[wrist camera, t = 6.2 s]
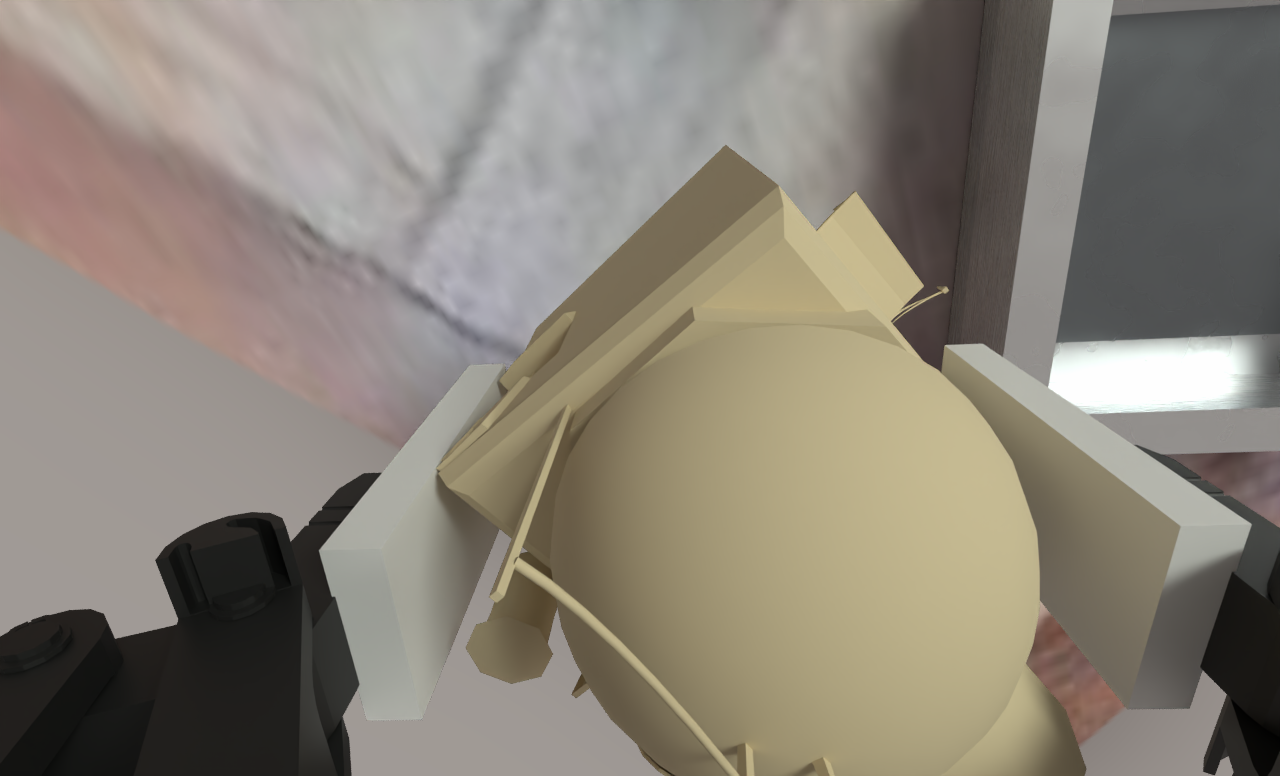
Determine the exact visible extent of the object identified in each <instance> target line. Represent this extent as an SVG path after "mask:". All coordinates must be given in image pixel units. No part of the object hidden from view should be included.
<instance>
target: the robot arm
mask: <svg viewBox="0 0 1280 776" xmlns="http://www.w3.org/2000/svg"><path fill="white" fill-rule="evenodd" d="M505 373H506V368H505V364H485V365H469V367H468V368H467V369H466V370H465V371H464V373H463V374H462V375H461V376H460V378H459V379H458V380H457V381H456V383H455V384H454V385H453V386H452V387H451V389H450V390H449V391H448V392H447V394H446V395H445V396H444V397H443V399H442V400H441V401H440V402H439V403H438V405H437V406H436V407H435V408H434V410H433V411H432V412H431V413H430V415H429V416H428V417H427V418H426V419H425V421H424V422H423V423H422V424H421V426H420V427H419V428H418V429H417V431H416V432H415V433H414V434H413V435H412V437H411V438H410V439H409V440H408V442H407V443H406V444H405V445H404V447H403V448H402V449H401V450H400V451H399V453H398V454H397V455H396V456H395V458H394V459H393V460H392V461H391V463H390V464H389V465H388V466H387V468H386V469H385V470H384V471H383V472H382V473H364V474H362V475H361V476H359V477H357V478H356V479H354V480H352V481H351V482H349V483H347V484H346V485H344V486H343V487H341V488H339V489H338V490H337V491H336V492H335V494H334V495H333V496H332V497H331V498H330V499H329V500H328V501H327V502H326V504H325V505H324V506H323V507H322V511H318V512H317V514H316V515H315V516H314V517H313V518H312V519H311V520H310V521H309V526H305V527H304V528H303V529H302V530H301V531H300V532H299V534H298V535H297V536H296V537H295V538H294V539H293V540H292V541H291V542H290V539H289V535H288V532H287V529H286V526H285V524H284V521H283V519H282V518H281V517H278V516H276V515H274V514H271V513H257V512H250V513H245V514H238V515H233V516H227V517H224V518H221V519H218V520H215V521H212V522H209V523H206V524H203V525H201V526H199V527H197V528H195V529H193V530H191V531H189V532H187V533H185V534H183V535H182V536H180V537H179V538H177V539H176V540H174V541H173V542H172V543H170V544H169V545H168V546H166V547H165V548H164V549H163V551H162V552H161V553H160V555H159V556H158V558H157V559H156V560H155V561H156V563H157V566H158V568H159V571H160V574H161V576H162V579H163V581H164V584H165V586H166V589H167V591H168V594H169V597H170V599H171V602H172V604H173V607H174V609H175V611H176V614H177V617H178V623H177V625H174V626H170V627H165V628H161V629H157V630H152V631H148V632H144V633H139V634H135V635H130V636H126V637H122V638H117V639H115V638H114V636H113V633H112V631H111V629H110V627H109V624H108V622H107V620H106V618H105V616H104V614H103V613H100V612H97V611H94V610H91V609H87V610H86V609H84V610H69V611H65V612H61V613H57V614H53V615H45V616H42V617H39V618H36V619H33V620H31V622H29V623H28V622H25V623H23V624H21V625H19V626H16V627H14V628H13V629H11V630H10V631H9V632H8V633H6V634H4V635H2V636H1V637H0V776H351V761H350V745H349V737H348V733H347V730H346V727H345V723H344V720H343V717H342V716H343V714H344V713H345V711H346V709H347V707H348V705H349V703H350V702H351V700H352V698H353V696H354V694H355V692H356V691H357V689H358V692H359V695H360V699H361V702H362V706H363V710H364V713H365V717H366V720H367V721H377V720H378V721H384V720H422V719H423V716H424V714H425V711H426V709H427V706H428V704H429V702H430V699H431V697H432V694H433V692H434V689H435V687H436V684H437V682H438V679H439V677H440V674H441V672H442V670H443V667H444V664H445V662H446V659H447V657H448V655H449V652H450V650H451V647H452V645H453V642H454V640H455V637H456V635H457V633H458V630H459V628H460V625H461V622H462V620H463V618H464V615H465V612H466V610H467V608H468V605H469V603H470V600H471V598H472V595H473V593H474V591H475V588H476V586H477V583H478V581H479V578H480V576H481V573H482V571H483V568H484V566H485V563H486V560H487V559H488V556H489V554H490V551H491V549H492V546H493V544H494V541H495V539H496V536H497V534H498V531H499V528H498V527H497V526H495V525H494V524H493V523H492V522H490V521H489V520H488V519H487V518H485V517H484V516H483V515H482V514H480V513H479V512H478V511H477V510H475V509H474V508H473V507H472V506H470V505H469V504H468V503H467V502H465V501H464V500H463V499H461V498H460V497H459V496H458V495H456V494H455V493H454V492H453V491H451V490H450V489H449V488H448V487H447V486H446V485H445V483H444V481H443V480H442V478H441V477H440V475H439V472H440V471H439V470H438V469H436V468H437V467H438V466H439V465H440V464H441V463H442V461H441V459H442V458H443V457H444V456H445V455H446V454H447V453H448V452H449V451H450V450H451V449H452V448H453V447H454V446H455V445H456V444H457V443H458V441H459V440H460V439H461V438H462V437H463V436H464V435H465V434H466V433H467V432H468V431H469V430H470V429H471V427H472V426H473V425H474V424H475V423H476V422H477V421H478V420H479V419H480V417H481V418H482V417H483V416H484V415H485V414H486V413H487V412H488V411H489V410H490V409H491V408H492V407H493V406H494V405H495V404H496V403H497V402H498V401H499V400H500V399H501V398H502V397H503V396H504V395H505V394H506V393H507V392H508V390H507V389H506V388H505V387H504V386H503V384H502V383H501V382H500V381H499V380H500V379H501V378H502V376H503V375H504V374H505ZM941 373H942V374H943V375H944V376H945V377H946V378H947V379H948V380H949V381H950V382H951V383H952V384H953V385H954V386H955V387H956V388H957V389H959V390H960V391H961V392H962V393H963V394H964V395H965V396H966V397H967V398H968V399H969V400H970V401H971V402H972V404H973V405H974V406H975V407H976V409H977V410H978V411H979V412H980V414H981V415H982V416H983V418H984V419H985V420H986V421H987V423H988V424H989V425H990V427H991V428H992V430H993V431H994V433H995V435H996V436H997V438H998V439H999V441H1000V442H1001V444H1002V445H1003V447H1004V448H1005V450H1006V451H1007V453H1008V455H1009V456H1010V458H1011V459H1012V461H1013V464H1014V466H1015V469H1016V472H1017V475H1018V478H1019V481H1020V484H1021V487H1022V489H1023V492H1024V495H1025V498H1026V501H1027V504H1028V507H1029V510H1030V513H1031V516H1032V519H1033V522H1034V525H1035V528H1036V531H1037V538H1038V552H1039V567H1040V601H1041V602H1042V603H1043V605H1044V606H1045V607H1046V608H1047V610H1048V611H1049V612H1050V613H1051V615H1052V616H1053V617H1054V618H1055V620H1056V621H1057V622H1058V623H1059V625H1060V626H1061V627H1062V628H1063V629H1064V631H1065V632H1066V633H1067V634H1068V636H1069V637H1070V638H1071V639H1072V641H1073V642H1074V643H1075V644H1076V646H1077V647H1078V648H1079V649H1080V651H1081V652H1082V653H1083V654H1084V656H1085V657H1086V658H1087V659H1088V661H1089V662H1090V663H1091V664H1092V666H1093V667H1094V668H1095V669H1096V671H1097V672H1098V673H1099V674H1100V676H1101V677H1102V678H1103V679H1104V681H1105V682H1106V683H1107V684H1108V686H1109V687H1110V688H1111V689H1112V691H1113V692H1114V693H1115V694H1116V696H1117V697H1118V698H1119V699H1120V701H1121V702H1122V703H1123V704H1124V706H1125V707H1126V708H1127V709H1184V708H1187V709H1188V708H1190V706H1191V703H1192V700H1193V697H1194V694H1195V691H1196V688H1197V685H1198V682H1199V679H1200V676H1201V673H1202V670H1203V671H1204V672H1205V673H1206V674H1207V675H1208V676H1209V677H1210V678H1211V679H1212V680H1213V681H1214V682H1215V683H1216V684H1217V685H1218V686H1219V687H1220V688H1221V689H1222V690H1223V691H1224V692H1225V693H1226V694H1227V696H1226V699H1225V702H1224V704H1223V707H1222V710H1221V713H1220V715H1219V718H1218V721H1217V724H1216V727H1215V729H1214V732H1213V735H1212V738H1211V740H1210V743H1209V746H1208V748H1207V752H1206V754H1205V757H1204V767H1203V772H1206V773H1209V774H1212V775H1215V773H1216V771H1217V768H1218V765H1219V762H1220V760H1221V759H1223V758H1225V757H1227V756H1229V758H1230V762H1231V765H1232V768H1233V771H1234V773H1233V775H1232V776H1280V528H1279V527H1277V526H1276V525H1274V524H1273V523H1271V522H1270V521H1268V520H1267V519H1265V518H1263V517H1262V516H1260V515H1259V514H1257V513H1256V512H1254V511H1253V510H1251V509H1250V508H1248V507H1246V506H1245V505H1243V504H1242V503H1240V502H1239V501H1237V500H1236V499H1234V498H1233V497H1231V496H1224V494H1223V491H1222V490H1220V489H1219V488H1217V487H1216V486H1214V485H1212V484H1211V483H1209V482H1208V481H1206V480H1205V481H1201V477H1200V476H1198V475H1197V474H1195V473H1194V472H1192V471H1191V470H1189V469H1188V468H1186V467H1185V466H1183V465H1181V464H1180V463H1178V462H1177V461H1175V460H1174V459H1171V458H1169V457H1166V456H1164V455H1161V454H1159V453H1156V452H1154V451H1151V450H1149V449H1146V448H1144V447H1141V446H1139V445H1133V444H1131V443H1130V442H1128V441H1127V440H1125V439H1124V438H1122V437H1121V436H1120V435H1118V434H1117V433H1115V432H1114V431H1112V430H1111V429H1109V428H1108V427H1106V426H1105V425H1103V424H1102V423H1100V422H1099V421H1097V420H1096V419H1094V418H1093V417H1091V416H1090V415H1088V414H1087V413H1085V412H1084V411H1082V410H1081V409H1079V408H1078V407H1076V406H1075V405H1073V404H1072V403H1070V402H1069V401H1067V400H1066V399H1064V398H1063V397H1061V396H1060V395H1058V394H1057V393H1055V392H1054V391H1052V390H1051V389H1049V388H1048V387H1046V386H1045V385H1044V384H1042V383H1041V382H1039V381H1038V380H1036V379H1035V378H1033V377H1032V376H1030V375H1029V374H1027V373H1026V372H1024V371H1023V370H1021V369H1020V368H1018V367H1017V366H1015V365H1014V364H1012V363H1011V362H1009V361H1008V360H1006V359H1005V358H1003V357H1002V356H1000V355H999V354H997V353H996V352H994V351H993V350H991V349H990V348H988V347H987V346H985V345H984V344H961V345H945V347H944V355H943V363H942V371H941Z"/></svg>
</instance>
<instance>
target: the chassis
mask: <svg viewBox="0 0 1280 776" xmlns="http://www.w3.org/2000/svg"><path fill="white" fill-rule="evenodd" d="M961 344H984V345H985V346H987V347H988V348H990V349H991V350H993V351H994V352H996V353H997V354H999V355H1000V356H1002V357H1003V358H1005V359H1006V360H1008V361H1009V362H1011V363H1012V364H1014V365H1015V366H1017V367H1018V368H1020V369H1021V370H1023V371H1024V372H1026V373H1027V374H1029V375H1030V376H1032V377H1033V378H1035V379H1036V380H1038V381H1039V382H1041V383H1042V384H1044V385H1045V386H1046V387H1048V388H1049V389H1051V390H1052V391H1054V392H1055V393H1057V394H1058V395H1060V396H1061V397H1063V398H1064V399H1066V400H1067V401H1069V402H1070V403H1072V404H1073V405H1075V406H1076V407H1078V408H1079V409H1081V410H1082V411H1084V412H1085V413H1087V414H1088V415H1090V416H1091V417H1093V418H1094V419H1096V420H1097V421H1099V422H1100V423H1102V424H1103V425H1105V426H1106V427H1108V428H1109V429H1111V430H1112V431H1114V432H1115V433H1117V434H1118V435H1120V436H1121V437H1122V438H1124V439H1125V440H1127V441H1128V442H1130V443H1131V444H1133V445H1139V446H1141V447H1144V448H1146V449H1149V450H1151V451H1154V452H1156V453H1159V454H1161V455H1164V454H1196V453H1227V452H1259V451H1280V0H985V8H984V17H983V26H982V35H981V44H980V53H979V62H978V72H977V81H976V90H975V99H974V108H973V117H972V126H971V135H970V144H969V153H968V162H967V172H966V181H965V190H964V199H963V208H962V217H961V226H960V235H959V244H958V253H957V262H956V271H955V281H954V290H953V299H952V308H951V317H950V326H949V335H948V344H947V345H961Z"/></svg>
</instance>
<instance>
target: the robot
mask: <svg viewBox="0 0 1280 776" xmlns="http://www.w3.org/2000/svg"><path fill="white" fill-rule="evenodd" d="M833 210H834V212H833V213H832V214H831V215H830V216H829V217H828V218H827V219H826V221H825V222H824V223H823V224H822V225H821V226H820V227H819V228H818V229H817V230H815V229H814V228H813V227H812V225H811V224H810V223H809V222H808V220H807V219H806V218H805V217H804V216H803V214H802V213H801V212H800V211H799V210H798V208H797V207H796V206H795V205H794V203H793V202H792V201H791V200H790V199H789V197H788V196H787V195H786V194H785V192H784V191H783V190H782V189H781V188H780V186H779V185H777V184H776V183H775V182H774V181H772V180H771V179H770V178H768V177H767V176H766V175H764V174H763V173H762V172H760V171H759V170H758V169H757V168H755V167H754V166H753V165H751V164H750V163H749V162H747V161H746V160H745V159H744V158H742V157H741V156H740V155H738V154H737V153H736V152H734V151H733V150H732V149H730V148H729V147H728V146H727V145H725V146H724V147H723V148H722V149H721V150H720V151H719V152H718V153H717V154H716V155H715V156H714V157H713V158H712V159H711V160H710V161H709V162H707V163H706V164H705V165H704V166H703V167H702V168H701V169H700V170H699V171H698V172H697V173H696V174H695V175H694V176H693V177H692V178H691V179H690V180H689V181H688V182H687V183H686V184H685V185H684V186H683V187H682V188H681V189H680V190H679V191H678V192H677V193H675V194H674V195H673V196H672V197H671V198H670V199H669V200H668V201H667V202H666V203H665V204H664V205H663V206H662V207H661V208H660V209H659V210H658V211H657V212H656V213H655V214H654V215H653V216H652V217H651V218H650V219H649V220H648V221H647V222H646V223H645V224H644V225H642V226H641V227H640V228H639V229H638V230H637V231H636V232H635V233H634V234H633V235H632V236H631V237H630V238H629V239H628V240H627V241H626V242H625V243H624V244H623V245H622V246H621V247H620V248H619V249H618V250H617V251H616V252H615V253H614V254H613V255H612V256H611V257H609V258H608V259H607V260H606V261H605V262H604V263H603V264H602V265H601V266H600V267H599V268H598V269H597V270H596V271H595V272H594V273H593V274H592V275H591V276H590V277H589V278H588V279H587V280H586V281H585V282H584V283H583V284H582V285H581V286H580V287H579V288H577V289H576V290H575V291H574V292H573V293H572V294H571V295H570V296H569V297H568V298H567V299H566V300H565V301H564V302H563V303H562V304H561V305H560V306H559V307H558V308H557V309H556V310H555V311H554V312H553V313H552V314H551V315H550V316H549V317H548V318H547V319H546V320H544V321H543V322H542V323H541V324H540V325H539V326H538V327H537V328H536V330H535V332H534V334H533V336H532V338H531V340H530V342H529V344H528V346H527V348H526V350H525V352H524V353H523V354H522V355H521V356H519V357H518V358H517V359H516V360H515V361H514V363H513V364H512V365H511V366H510V368H509V369H508V370H507V371H506V373H505V374H504V375H503V376H502V378H501V379H500V380H499V381H500V382H501V383H502V384H503V386H504V387H505V388H506V389H507V390H508V392H507V393H506V394H505V395H504V396H503V397H502V398H501V399H500V400H499V401H498V402H497V403H496V404H495V405H494V406H493V407H492V408H491V409H490V410H489V411H488V412H487V413H486V414H485V415H484V416H483V417H482V418H481V417H480V419H479V420H478V421H477V422H476V423H475V424H474V425H473V426H472V427H471V429H470V430H469V431H468V432H467V433H466V434H465V435H464V436H463V437H462V438H461V439H460V440H459V441H458V443H457V444H456V445H455V446H454V447H453V448H452V449H451V450H450V451H449V452H448V453H447V454H446V455H445V456H444V457H443V458H442V459H441V461H442V463H441V464H440V465H439V466H438V467H437V468H436V469H438V470H439V471H440V472H439V475H440V477H441V478H442V480H443V481H444V483H445V485H446V486H447V487H448V488H449V489H450V490H451V491H453V492H454V493H455V494H456V495H458V496H459V497H460V498H461V499H463V500H464V501H465V502H467V503H468V504H469V505H470V506H472V507H473V508H474V509H475V510H477V511H478V512H479V513H480V514H482V515H483V516H484V517H485V518H487V519H488V520H489V521H490V522H492V523H493V524H494V525H495V526H497V527H498V528H499V529H500V530H502V531H503V532H504V533H505V534H507V535H508V536H509V537H511V538H512V540H511V543H510V545H509V548H508V550H507V553H506V555H505V558H504V560H503V563H502V565H501V568H500V571H499V573H498V576H497V578H496V581H495V583H494V586H493V588H492V591H491V593H490V596H489V597H490V598H491V599H492V600H493V601H495V603H494V605H493V608H492V611H491V614H490V616H489V618H488V620H487V622H483V623H480V624H476V626H475V628H474V630H473V633H472V635H471V637H470V640H469V642H468V644H467V646H466V649H467V651H468V652H469V654H470V656H471V657H472V659H473V661H474V662H475V664H476V666H477V667H478V669H479V670H480V672H481V673H484V674H487V675H489V676H492V677H495V678H498V679H500V680H503V681H505V682H508V683H511V684H513V683H517V682H521V681H525V680H529V679H533V678H537V677H541V676H542V674H543V672H544V670H545V668H546V666H547V664H548V663H549V661H550V659H551V657H552V655H553V653H552V651H551V649H550V648H549V646H548V640H549V636H550V632H551V627H552V623H553V619H554V616H555V613H556V610H557V607H558V612H559V617H560V622H561V627H562V630H563V632H564V635H565V637H566V640H567V642H568V645H569V647H570V649H571V652H572V655H573V657H574V660H575V662H576V664H577V666H578V667H579V669H580V671H581V673H582V674H581V676H580V678H579V680H578V682H577V684H576V686H575V688H574V690H573V692H572V695H573V696H574V697H575V698H577V697H578V696H580V695H581V694H582V693H584V692H585V691H586V690H588V689H589V688H590V689H591V691H592V693H593V694H594V695H595V697H596V698H597V700H598V701H599V703H600V704H601V706H602V707H603V709H604V710H605V711H606V713H607V714H608V716H609V717H610V719H611V720H612V721H613V722H614V723H615V724H617V725H618V727H619V728H621V729H622V730H623V731H624V732H625V733H626V734H627V735H628V736H629V737H630V738H631V739H632V740H633V741H634V742H635V743H636V744H637V745H638V747H639V749H640V751H641V753H642V755H643V757H644V758H646V760H648V762H649V763H650V764H652V766H654V767H655V769H657V770H658V771H659V772H660V773H662V774H663V775H665V776H1084V775H1085V772H1086V766H1085V764H1084V761H1083V758H1082V755H1081V752H1080V749H1079V746H1078V743H1077V741H1076V738H1075V735H1074V732H1073V729H1072V726H1071V723H1070V721H1069V718H1068V715H1067V712H1066V710H1065V708H1064V707H1063V706H1062V705H1061V704H1060V703H1059V702H1058V700H1057V699H1056V698H1055V697H1054V696H1053V695H1052V694H1051V692H1050V691H1049V690H1048V689H1047V688H1046V687H1045V686H1044V684H1043V683H1042V682H1041V681H1040V680H1039V679H1038V678H1037V676H1036V675H1035V674H1034V673H1033V672H1032V671H1031V669H1030V668H1029V667H1028V666H1027V665H1026V661H1027V658H1028V656H1029V653H1030V651H1031V648H1032V646H1033V642H1034V636H1035V631H1036V626H1037V620H1038V615H1039V610H1040V567H1039V552H1038V538H1037V531H1036V528H1035V525H1034V522H1033V519H1032V516H1031V513H1030V510H1029V507H1028V504H1027V501H1026V498H1025V495H1024V492H1023V489H1022V487H1021V484H1020V481H1019V478H1018V475H1017V472H1016V469H1015V466H1014V464H1013V461H1012V459H1011V458H1010V456H1009V455H1008V453H1007V451H1006V450H1005V448H1004V447H1003V445H1002V444H1001V442H1000V441H999V439H998V438H997V436H996V435H995V433H994V431H993V430H992V428H991V427H990V425H989V424H988V423H987V421H986V420H985V419H984V418H983V416H982V415H981V414H980V412H979V411H978V410H977V409H976V407H975V406H974V405H973V404H972V402H971V401H970V400H969V399H968V398H967V397H966V396H965V395H964V394H963V393H962V392H961V391H960V390H959V389H957V388H956V387H955V386H954V385H953V384H952V383H951V382H950V381H949V380H948V379H947V378H946V377H945V376H944V375H943V374H942V373H940V372H939V371H938V370H937V369H935V368H934V367H932V366H930V365H929V364H927V363H925V362H924V361H923V360H922V359H921V358H920V356H919V355H918V354H917V353H916V352H915V350H914V349H913V348H912V347H911V346H910V344H909V343H908V342H907V341H906V339H905V338H904V337H903V336H902V335H901V333H900V332H899V331H898V330H897V329H896V327H895V326H894V325H893V324H892V323H894V322H895V321H896V320H897V319H898V318H899V317H901V316H902V315H904V314H905V313H906V312H908V311H910V310H911V309H913V308H914V307H916V306H918V305H919V304H921V303H923V302H925V301H927V300H929V299H930V298H932V297H935V296H937V295H939V294H941V293H944V294H945V293H947V292H948V291H949V290H948V288H947V287H946V286H938V287H937V289H939V290H940V292H938V293H936V294H934V295H932V296H929V297H927V298H924V299H922V300H920V301H917V302H915V303H913V304H911V305H909V306H907V307H905V308H903V306H904V305H905V304H906V303H907V302H908V301H909V300H910V299H911V298H912V297H913V296H914V295H916V294H917V293H918V292H919V291H920V290H921V289H922V288H923V287H924V285H923V284H922V282H921V281H920V280H919V278H918V277H917V276H916V274H915V273H914V271H913V270H912V269H911V267H910V266H909V265H908V263H907V262H906V260H905V259H904V258H903V256H902V255H901V253H900V252H899V251H898V249H897V248H896V247H895V245H894V244H893V242H892V241H891V240H890V238H889V237H888V235H887V234H886V233H885V231H884V230H883V229H882V227H881V226H880V224H879V223H878V222H877V220H876V219H875V217H874V216H873V215H872V213H871V212H870V211H869V209H868V208H867V206H866V205H865V204H864V202H863V201H862V199H861V198H860V197H859V195H858V194H857V193H856V191H855V192H853V193H852V194H851V195H850V196H849V197H848V198H847V199H846V200H845V201H844V202H842V203H841V204H840V205H838V206H837V207H836V208H834V209H833ZM917 303H918V304H917ZM915 304H916V305H915ZM913 305H915V306H913ZM911 306H913V307H912V308H910V309H909V310H907V311H906V312H904V313H903V314H902V315H900V316H899V317H898V318H897V319H895V320H894V321H893V322H891V321H892V319H893V318H894V317H896V316H897V315H898V314H900V313H901V312H902V311H904V310H906V309H907V308H909V307H911ZM902 308H903V309H902ZM522 547H523V548H524V549H526V550H527V551H528V552H525V553H521V554H520V552H521V549H522Z"/></svg>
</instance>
